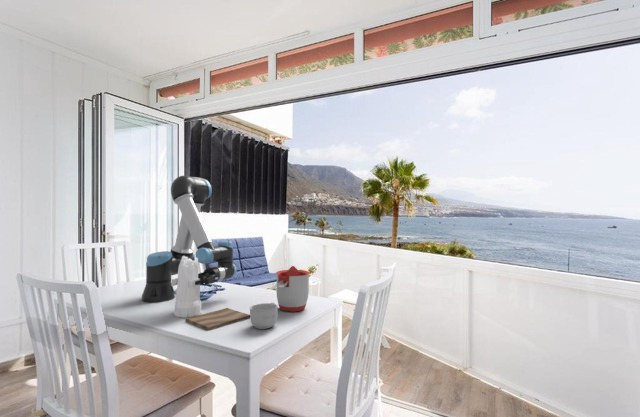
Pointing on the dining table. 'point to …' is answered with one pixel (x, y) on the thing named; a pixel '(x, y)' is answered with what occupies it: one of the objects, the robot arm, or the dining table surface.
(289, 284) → the citrus juicer
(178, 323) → the dining table surface
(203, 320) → the board
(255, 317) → the teacup
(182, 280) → the decorative vase
